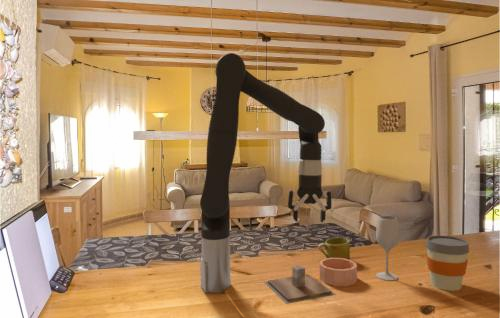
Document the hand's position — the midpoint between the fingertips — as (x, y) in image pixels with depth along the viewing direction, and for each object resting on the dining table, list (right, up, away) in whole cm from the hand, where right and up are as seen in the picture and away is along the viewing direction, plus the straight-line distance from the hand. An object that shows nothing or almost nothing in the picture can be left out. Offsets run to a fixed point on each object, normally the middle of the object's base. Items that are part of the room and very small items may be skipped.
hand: (309, 221), depth 127 cm
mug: (+13, -19, +23) cm, 33 cm away
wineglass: (+28, -21, +6) cm, 35 cm away
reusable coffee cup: (+45, -21, -2) cm, 49 cm away
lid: (-4, -21, -5) cm, 22 cm away
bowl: (+10, -21, +2) cm, 23 cm away
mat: (-4, -21, -5) cm, 22 cm away
